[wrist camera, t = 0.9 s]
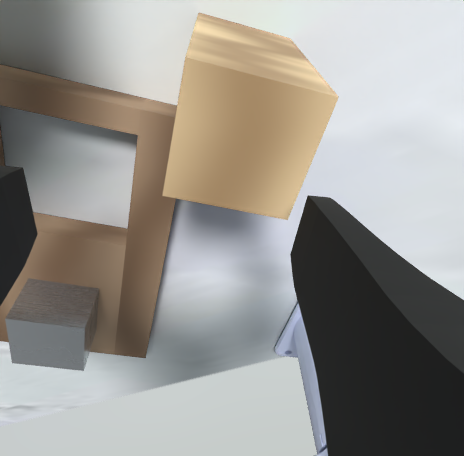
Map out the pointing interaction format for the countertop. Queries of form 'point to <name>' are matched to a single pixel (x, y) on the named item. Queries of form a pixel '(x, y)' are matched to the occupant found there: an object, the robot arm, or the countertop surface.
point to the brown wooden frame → (97, 235)
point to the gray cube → (52, 324)
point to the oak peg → (245, 120)
